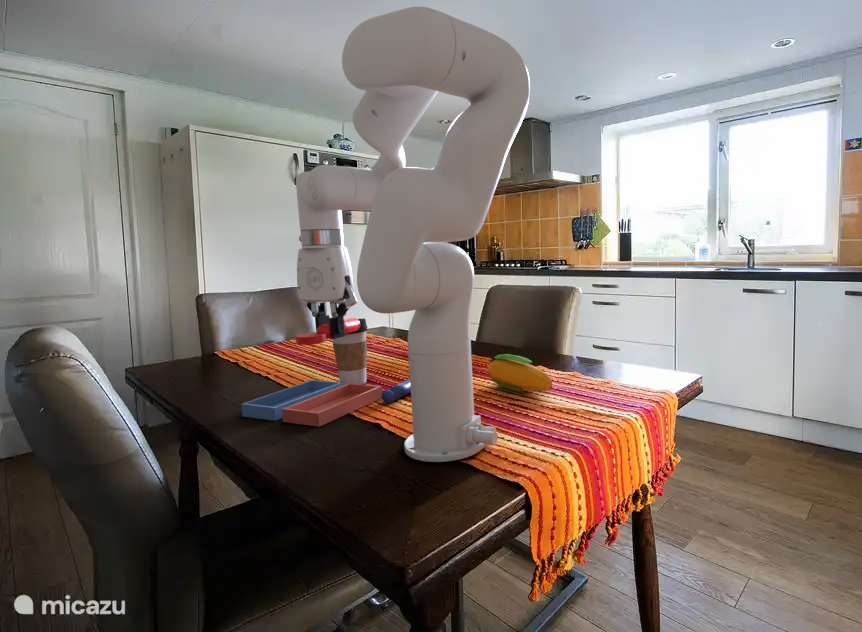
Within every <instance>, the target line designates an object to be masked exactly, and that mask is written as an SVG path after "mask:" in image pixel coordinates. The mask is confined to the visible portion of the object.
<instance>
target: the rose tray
mask: <svg viewBox="0 0 862 632" xmlns="http://www.w3.org/2000/svg"><path fill="white" fill-rule="evenodd" d="M382 393H383V386H382V385H374V384H352V383H348V384H346V385H343V386H341V387H338V388H335V389H333V390H330V391H328V392H325V393H322V394H320V395H317V396H315V397H312V398H309V399H307V400H304V401H302V402H299V403H296V404H294V405H291V406H289V407H286V408H283V409H282V414H283V418H282V422H283V423H289V424H297V425H303V426H312V427H322V426H324V425H326V424H329V423H331V422H333V421H335V420H337V419H340V418H341V417H343V416H346V415H348V414H350V413H352V412H354V411H357V410H358V409H361V408H363V407H365V406H367V405H370V404H372V403H374V402H376V401H379V400H380V399H382V397H381V395H382Z"/></svg>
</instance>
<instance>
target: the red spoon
mask: <svg viewBox="0 0 862 632" xmlns="http://www.w3.org/2000/svg"><path fill="white" fill-rule="evenodd" d="M358 319H359V318H357V317H349V318H344V329H345V334H346V333H350V332H354V331H357V330H358V329H359V328H360V321H359V320H358ZM329 338H331V331H330V323H326V324H322V325H320V326H319V327H318V328H317V332H316V331H313V332H304V333H299V334H296V335H295V344H296V345H299V346H310V345H319V344H322V343H325V342H327V339H329Z"/></svg>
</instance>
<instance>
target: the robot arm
mask: <svg viewBox="0 0 862 632" xmlns="http://www.w3.org/2000/svg"><path fill="white" fill-rule="evenodd" d="M341 65H342V71H343V74H344V76H345V78H346V80H347V81H348V83H350V85H352V86H353V87H354V88H356V89H358V90H361V91H364V94H363V95H362V97H361V99H360V101H359V102H358V104H357V105H356V107H355V109H354V111H353V113H352V124H353V127H354V129H355V131H356V133H357V134H358V135H359V137H360V138H361V139H362V140H363V141H364V142H365V143H366V144H367V145H369V147H371V148H372V149H373V150H375V151H377V152H378V153H380V155H379V156H378V158H377V160H376V161H375V163H374V164H373V165H372V166H371V168H366V167H365V168H364V167H355V166H346V165H344V166H343V165H341V166H340V165H334V164H333V165H332V164H321V165H318V166H315V167H313V168H312V169H311V170H309V171H302V172H300V173H298V174H297V176H296V179H295V188H296V199H297V209H298V220H299V230H300V232H299V233H300V235H299V237H298V241H299V242H300V244H301V248H299V249H298V253H297V261H296V262H297V263H296V286H297V287H296V288H297V296H298V298H299V302H300V303H301V304H302V305H304V306H305V307H307V309H308V310H309V312H311V316H312V318H314V323H315V324H314V325H315V332H317V328H318V327H319V326H320V325H322V324H326V323H330V331H331V337H330V338H331V339H332V340H333V339H336V338H340V337H344V336H345V329H344V319H345V316H346V315H347V312H348V311H349V310H350V308H352V307H353V306H355V305H356V304H358V299H357V297H356V295H355V285H354V276H353V269H352V264H351V259H350V255H349V252H348V248H347V246H346V247H345V236H344V235H345V234H344V224H343V222H344V221H343V211H359V212H360V211H362V212H369V215H368V220H367V224H366V229H365V232H364V237H363V242H362V246H361V249H360V254H359V259H358V262H357V263H358V264H357V271H356V285H357V292H358V294H359V297H360V299H361V301H362V303H363V304H364V305H365V306H366V307H367V309H369V310H371V311H373V312H375V313H379V314H397V313H404V312H405V313H406V312H413V311H414V313H413V315H412V318H411V320H410V323H409V327H408V332H407V357H408V358H407V359H408V371H409V379H410V388H411V393H410V397H411V398H410V399H411V400H410V402H411V416H412V431H413V434H410V436H408V437H407V438H406V439H405V440H404V443H403V449H404V453H405V454H406V455H407V456H408V457H409V458H411V459H413V460H416V461H420V462H425V463H426V462H427V463H448V462H454V461H459V460H463V459H466V458H469V457H472V456H474V455H476V454H478V453H479V452H481V451H482V450H483V449H484V448H485V446H486V445H491V446H496V444H497V442H498V432H497V427H496V426H490V425H489V426H488V425H487V426H484V425H483V424H482V419H481V418H482V417H481V415H477V414H475V401H474V400H475V399H474V382H473V379H474V378H473V361H472V338H471V310H472V309H471V308H472V300H473V294H474V285H475V268H474V264H473V262H472V260H471V257H470V256H469V255H468V253H467V252H466V251H465V250H464V249H462V247H459V246H457V245H456V244H453V243H449V242H461V241H467V240H470V239H473V238H474V237H476V236H477V235H478V233H480V231H481V229H482V227H483V225H484V223H485V220H486V218H487V215H488V211H489V209H490V207H491V203H492V202H493V201H492V200H493V198H494V194H495V191H496V189H497V186H498V183H499V181H500V178H501V174H502V173H503V172H502V171H503V170H504V169H503V168H504V164H505V162H506V159H507V156H508V153H509V152H510V149H511V146H512V145H513V142H514V140H515V138H516V135H517V133H518V132H519V129H520V127H521V126H522V123H523V120H524V119H525V115H526V113H527V110H528V106H529V101H530V96H531V81H530V75H529V70H528V68H527V64H526V63H525V60H524V59H523V57H522V55H521V54H520V53H519V52H518V50H517V49H516V48H515V47H514V46H513V45H511V44H510V43H509V42H508V41H507V40H505V39H504V38H502V37H500V36H498V35H496V34H494V33H492V32H490V31H489V30H486V29H483V28H481V27H479V26H477V25H474V24H471V23H469V22H466V21H464V20H461V19H459V18H456V17H454V16H452V15H449V14H448V13H444V12H443V11H440V10H437V9H434V8H432V7H431V8H430V7H426V6H410V7H406V8H402V9H399V10H395V11H392V12H391V11H390V12H387V13H384V14H381V15H377V16H374V17H371V18H368V19H366V20H363V21H361V23H359V24H358V25H356V26H355V27H354V29H352V31H351V32H350V33H349V34H348V36H347V38H346V40H345V43H344V45H343V49H342V55H341ZM438 93H442V94H447V95H450V96H454V97H459V98H463V99H465V100H467V101H468V104H469V105H468V106H467V107H466V108H465V109H463V110H462V112H461V113H460V114H459V115H457V117H456V118H455V119H454V120H453V122H452V123H451V124H450V126H449V128H448V129H447V131H446V133H445V135H444V138H443V141H442V145H441V149H440V153H439V155H438V159H437V161H436V163H435V165H434V166H433V167H431V168H426V167H415V166H406V153H405V148H404V146H403V145H404V143H405V141H406V140H407V138H408V137H409V135H410V134H411V132H412V131H413V130H414V128H415V127H416V125H417V124H418V123H419V121H420V119H421V118H422V116H423V115H424V113H425V112H426V111H427V110H428V108H429V106H430V105H431V104H432V102H433V100H434V99H435V97H436V96H437V94H438ZM327 303H329V307H330V313H331V314H330V315H331V316H330V315H329V314H327V313H328V310H327V309H328V308H327V305H328V304H327Z"/></svg>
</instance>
